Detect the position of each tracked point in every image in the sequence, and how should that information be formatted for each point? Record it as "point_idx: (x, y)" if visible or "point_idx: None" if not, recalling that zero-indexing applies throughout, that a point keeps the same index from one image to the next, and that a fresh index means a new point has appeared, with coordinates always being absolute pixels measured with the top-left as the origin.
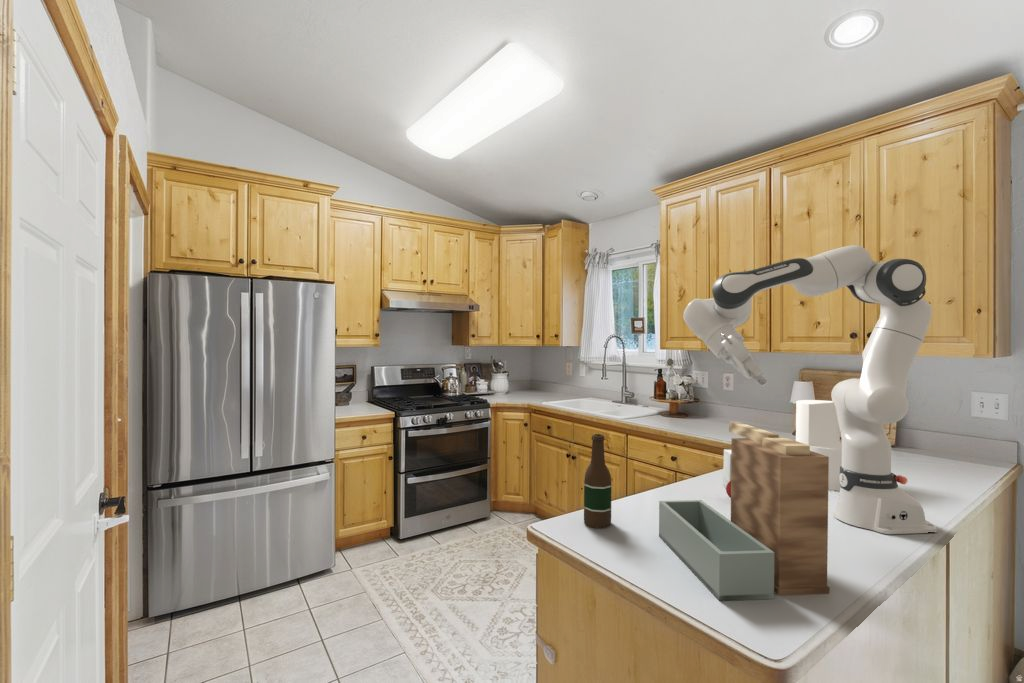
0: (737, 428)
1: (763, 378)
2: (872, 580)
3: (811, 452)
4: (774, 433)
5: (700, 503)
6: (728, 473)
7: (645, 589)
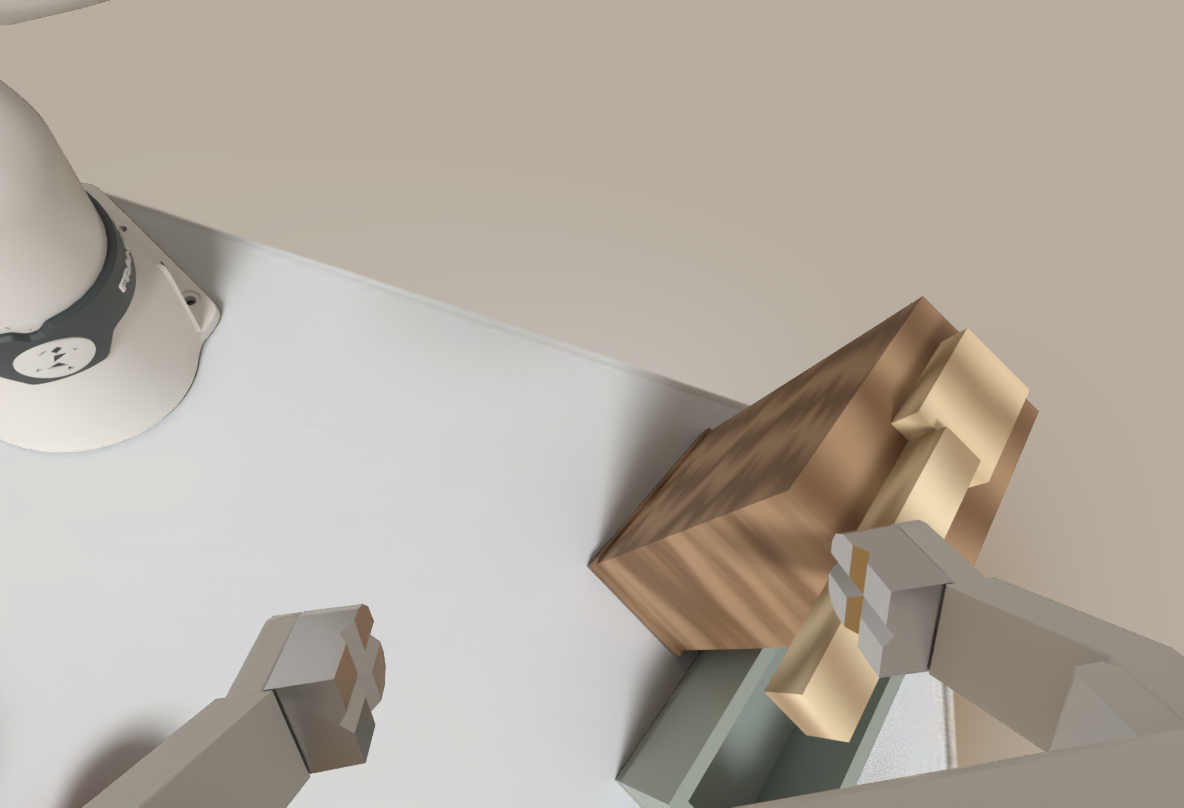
0: None
1: (342, 661)
2: (587, 365)
3: (911, 338)
4: (940, 443)
5: (692, 790)
6: None
7: (942, 723)
